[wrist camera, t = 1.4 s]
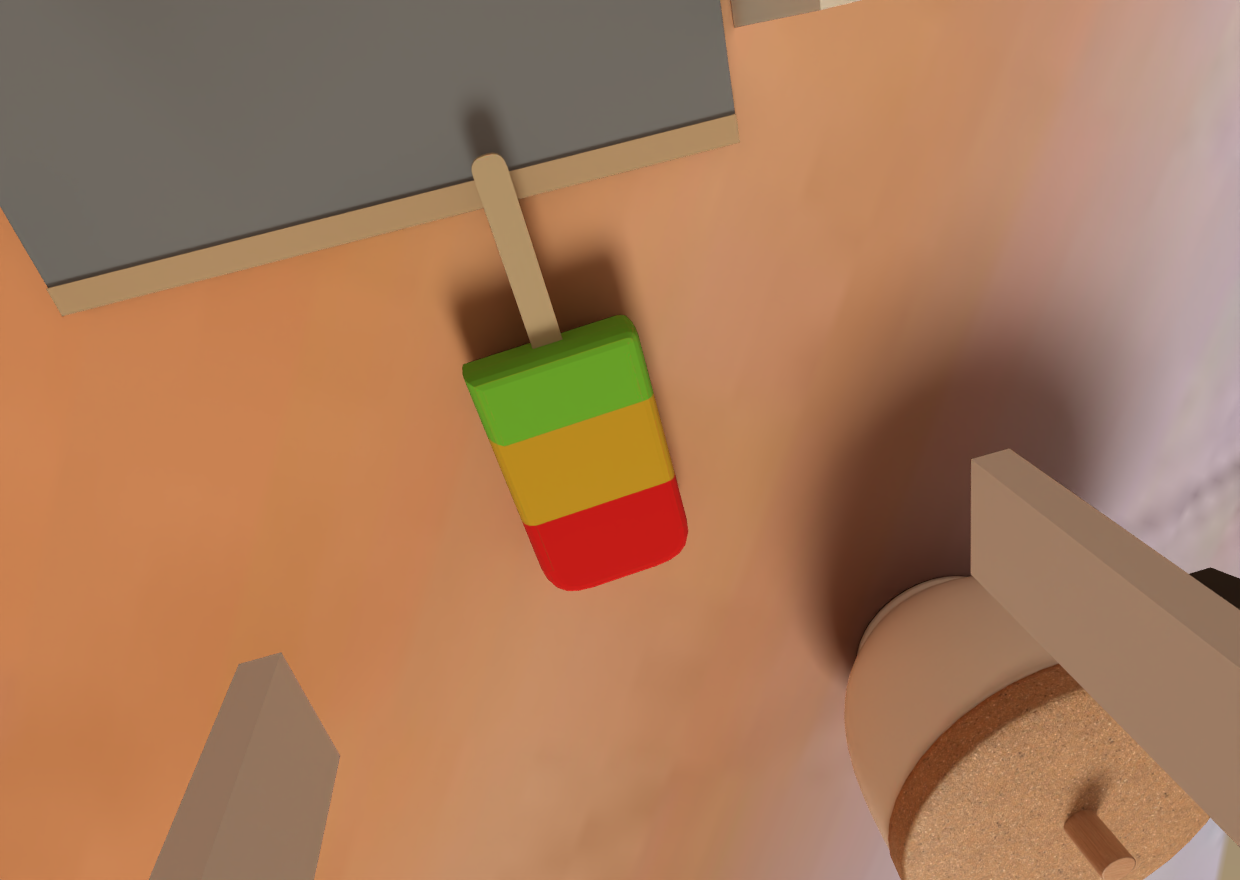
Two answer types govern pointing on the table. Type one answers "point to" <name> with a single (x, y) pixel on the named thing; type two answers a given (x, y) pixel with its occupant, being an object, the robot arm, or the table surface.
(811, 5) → the word card
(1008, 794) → the lidded bowl
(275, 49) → the slate board
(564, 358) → the popsicle
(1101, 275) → the table surface
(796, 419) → the table surface
